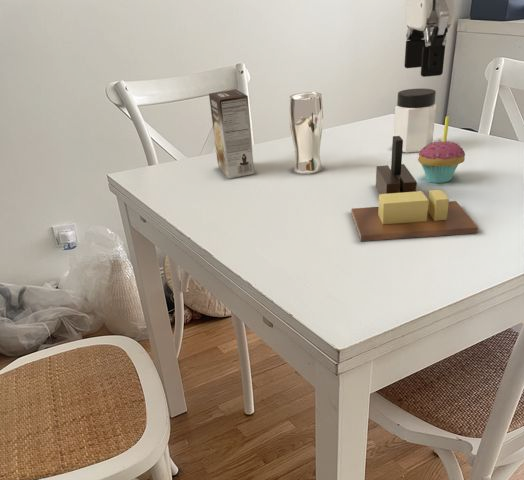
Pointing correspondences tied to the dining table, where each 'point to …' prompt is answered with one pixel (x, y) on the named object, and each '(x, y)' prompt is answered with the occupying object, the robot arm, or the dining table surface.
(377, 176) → the knife block
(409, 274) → the dining table surface
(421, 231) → the board
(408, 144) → the jar
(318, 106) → the beer glass
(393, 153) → the knife
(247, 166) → the coffee box
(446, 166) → the cupcake
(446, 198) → the butter slice
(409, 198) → the butter
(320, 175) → the dining table surface
